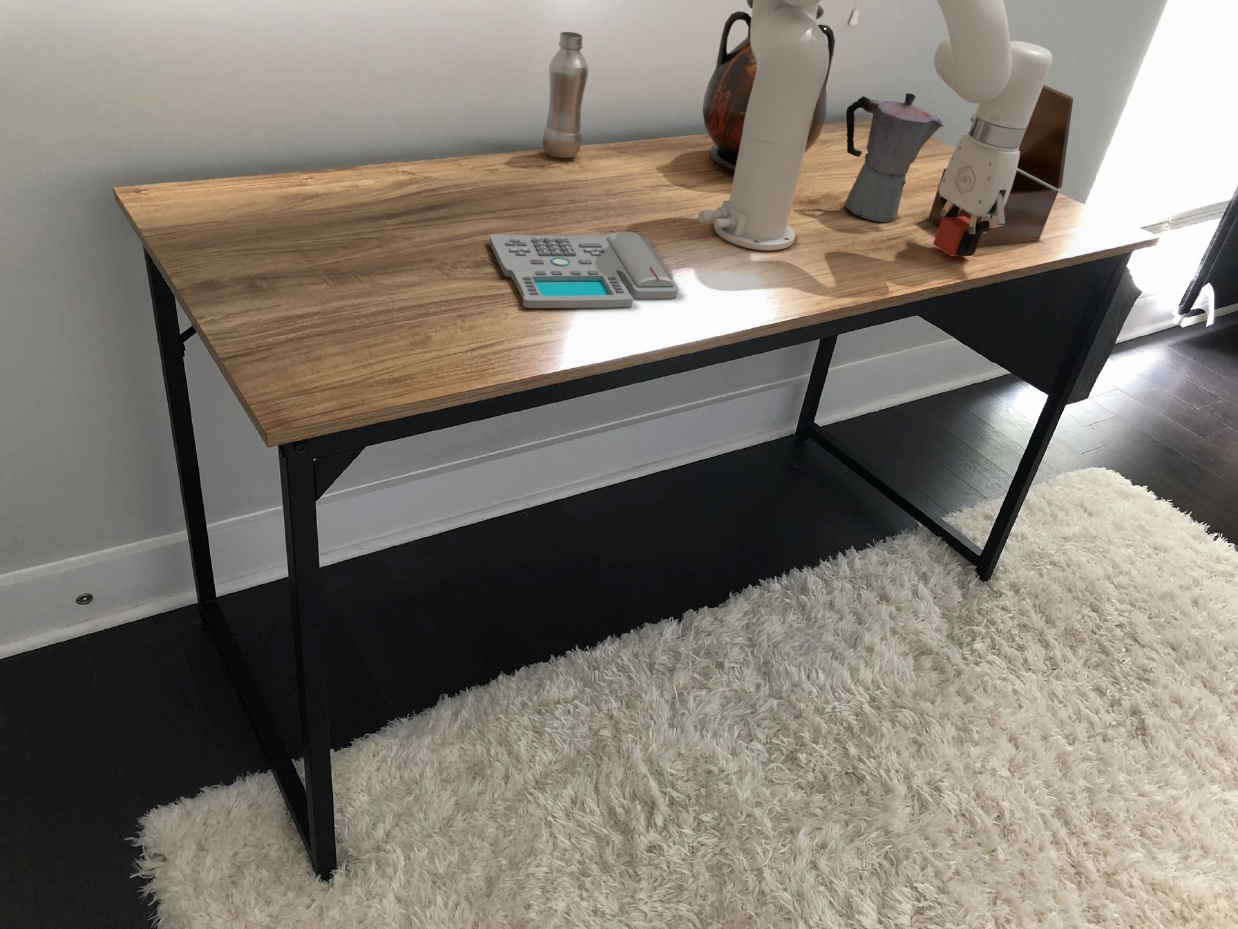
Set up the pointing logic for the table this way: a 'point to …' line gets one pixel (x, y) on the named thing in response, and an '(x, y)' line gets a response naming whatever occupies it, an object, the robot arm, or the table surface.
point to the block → (951, 234)
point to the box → (1013, 212)
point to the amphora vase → (745, 95)
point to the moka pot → (887, 154)
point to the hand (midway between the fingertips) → (954, 247)
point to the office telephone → (583, 269)
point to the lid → (1047, 137)
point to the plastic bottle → (566, 97)
